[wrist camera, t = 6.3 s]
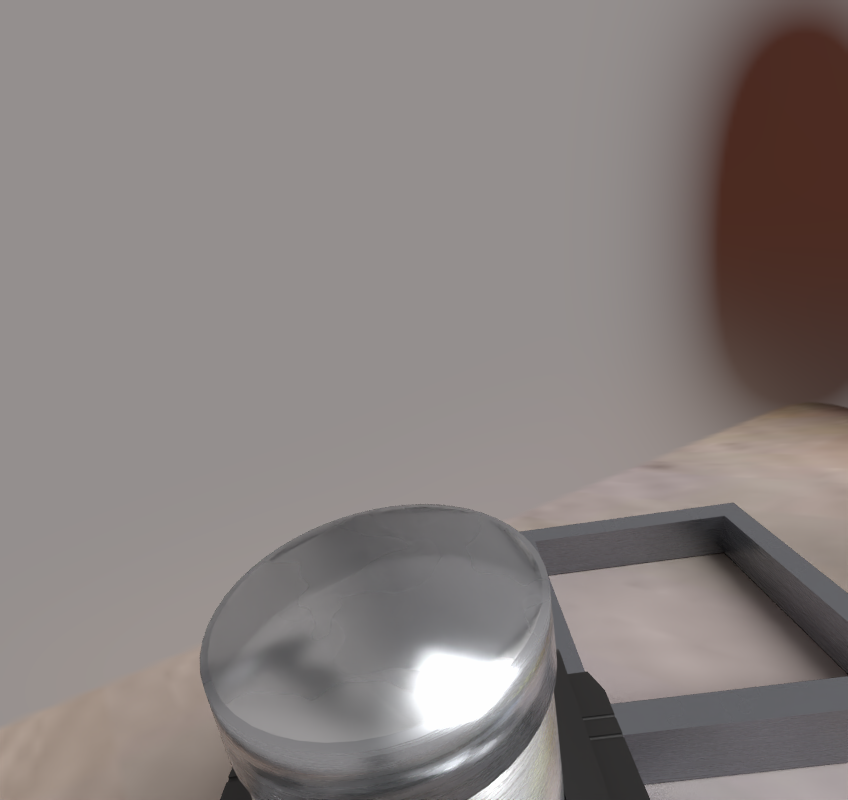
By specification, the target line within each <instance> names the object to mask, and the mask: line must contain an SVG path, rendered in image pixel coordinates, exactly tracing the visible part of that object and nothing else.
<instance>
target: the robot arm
mask: <svg viewBox="0 0 848 800" xmlns="http://www.w3.org/2000/svg"><path fill="white" fill-rule="evenodd" d="M556 656H557V672H556V682H555V687H554V698H555V707H556V717H557V726H558V736H559V745H560V755H561V764H562V774H563V787H564V797H565V800H650V798H649V796H648V793H647V791H646V789H645V786H644V784H643V781H642V779H641V776H640V774H639V772H638V769H637V767H636V764H635V762H634V760H633V757H632V755H631V752H630V750H629V748H628V745H627V743H626V740H625V738H624V737H623V734H622V731H621V728H620V726H619V723H618V721H617V719H616V718H615V715H614V711H613V709H612V707H611V704H610V702H609V699H608V697H607V694H606V692H605V690H604V689H603V688H602V687H601V686H600V685H599V684H598V682H597V681H596V680H595V679H594V678H593V677H592V676H591V675H590V674H589V673H588V672H580V673H571V674H567V671H566V668H565V665H564V662H563V659H562V656H561V653H560V651H559V649H556ZM220 800H252V797H251V794H250V792H249V791H248V790H247V789H246V788H245V786H244V785H243V784H242V783H241V781H240V780H239V778H238V776H237V775H236V773H235V771H234V769H233V767H232V770H231V772H230V775H229V781H228V782H227V783H226V786H225V788H224V791H223V793H222V796H221V799H220Z"/></svg>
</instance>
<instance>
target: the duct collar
mask: <svg viewBox="0 0 848 800" xmlns="http://www.w3.org/2000/svg"><path fill="white" fill-rule="evenodd" d="M520 533H521V534H522V535H523V536H524V537H525V538H526V539H527V540H528V541H530V542H531V544H532V545H533V546H534V548H535V549H536V550H537V552H538V553H539V555H540V557H541V559H542V561H543V563H544V565H545V567H546V571H547V574H548V575H554V574H562V573H570V572H577V571H585V570H592V569H600V568H608V567H615V566H623V565H630V564H638V563H646V562H653V561H661V560H668V559H676V558H684V557H691V556H699V555H707V554H714V553H722V552H724V553H725V554H726V555H727V556H728V557H729V558H730V559H731V560H732V561H734V562H735V563H736V564H737V565H738V566H739V567H740V568H741V569H742V570H743V571H744V572H745V573H746V574H747V575H748V576H749V577H750V578H751V579H752V580H753V581H754V582H755V583H756V584H757V585H758V586H759V587H760V588H761V589H762V590H763V591H764V592H765V593H766V594H767V595H768V596H769V597H770V598H771V599H772V600H773V601H774V602H775V603H776V604H777V605H778V606H779V607H780V608H781V609H782V610H783V611H784V612H785V613H786V614H787V615H788V616H789V617H791V618H792V619H793V620H794V621H795V622H796V623H797V624H798V625H799V626H800V627H801V628H802V629H803V630H804V631H805V632H806V633H807V634H808V635H809V636H810V637H811V638H812V639H813V640H814V641H815V642H816V643H817V644H818V645H819V646H820V647H821V648H822V649H823V650H824V651H825V652H826V653H827V654H828V655H829V656H830V657H831V658H832V659H833V660H834V661H835V662H836V663H837V664H838V665H839V666H840V667H841V668H842V669H843V670H844V671H845V672H847V673H848V593H847V592H845V591H844V590H843V589H842V588H840V587H839V586H838V585H837V584H835V583H834V582H833V581H832V580H830V579H829V578H828V577H826V576H825V575H824V574H823V573H821V572H820V571H819V570H818V569H816V568H815V567H814V566H813V565H811V564H810V563H809V562H808V561H806V560H805V559H804V558H802V557H801V556H800V555H799V554H797V553H796V552H795V551H794V550H792V549H791V548H790V547H789V546H787V545H786V544H785V543H784V542H782V541H781V540H780V539H778V538H777V537H776V536H775V535H773V534H772V533H771V532H770V531H768V530H767V529H766V528H765V527H763V526H762V525H761V524H760V523H758V522H757V521H756V520H754V519H753V518H752V517H751V516H749V515H748V514H747V513H746V512H744V511H743V510H742V509H741V508H739V507H738V506H737V505H736V504H734V503H727V504H720V505H713V506H705V507H698V508H691V509H683V510H676V511H669V512H661V513H654V514H647V515H639V516H632V517H625V518H617V519H610V520H603V521H595V522H588V523H580V524H573V525H566V526H558V527H551V528H544V529H536V530H529V531H522V532H520ZM548 578H549V577H548ZM549 584H550V594H551V604H552V614H553V624H554V634H555V644H556V649H559V651H560V653H561V656H562V659H563V662H564V665H565V668H566V671H567V674H571V673H580V672H585V671H584V668H583V665H582V663H581V660H580V658H579V655H578V652H577V650H576V647H575V644H574V642H573V639H572V637H571V634H570V631H569V629H568V626H567V624H566V621H565V618H564V616H563V613H562V611H561V608H560V605H559V603H558V600H557V598H556V595H555V592H554V590H553V587H552V585H551V582H550V579H549ZM611 707H612V709H613V711H614V715H615V718H616V719H617V721H618V723H619V726H620V728H621V731H622V734H623V737H624V738H625V740H626V743H627V745H628V748H629V750H630V752H631V755H632V757H633V760H634V762H635V764H636V767H637V769H638V772H639V774H640V776H641V779H642V781H643V784H644V785H645V784H654V783H663V782H672V781H682V780H691V779H700V778H709V777H718V776H727V775H737V774H746V773H755V772H764V771H773V770H782V769H791V768H801V767H810V766H819V765H828V764H837V763H846V762H848V676H846V677H837V678H829V679H820V680H812V681H803V682H795V683H786V684H778V685H769V686H761V687H752V688H744V689H735V690H727V691H718V692H710V693H701V694H693V695H684V696H676V697H667V698H659V699H650V700H642V701H633V702H625V703H616V704H611Z"/></svg>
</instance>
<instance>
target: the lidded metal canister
mask: <svg viewBox="0 0 848 800" xmlns="http://www.w3.org/2000/svg"><path fill="white" fill-rule="evenodd" d="M556 672H557V656H556V644H555V634H554V624H553V614H552V604H551V594H550V584H549V578H548V574H547V571H546V567H545V565H544V563H543V561H542V559H541V557H540V555H539V553H538V552H537V550H536V549H535V548H534V546H533V545H532V544H531V542H530V541H528V540H527V539H526V538H525V537H524V536H523V535H522V534H521V533H520V532H518V531H517V530H516V529H514V528H513V527H511V526H510V525H508V524H506V523H504V522H503V521H501V520H499V519H497V518H494V517H492V516H489V515H487V514H484V513H481V512H477V511H474V510H470V509H466V508H460V507H455V506H446V505H432V504H430V505H429V504H418V505H417V504H416V505H402V506H391V507H385V508H380V509H374V510H369V511H365V512H361V513H357V514H353V515H350V516H347V517H343V518H340V519H337V520H335V521H332V522H330V523H326V524H324V525H322V526H319V527H317V528H315V529H312V530H311V531H308V532H306V533H304V534H302V535H300V536H298V537H297V538H295V539H293V540H291V541H289V542H288V543H286V544H284V545H283V546H281V547H279V548H278V549H276V550H275V551H274V552H272V553H271V554H269V555H268V556H266V557H265V558H264V559H262V560H261V561H260V562H259V563H258V564H256V565H255V566H254V567H252V568H251V569H250V570H249V571H248V572H247V573H246V574H245V575H244V576H243V577H242V578H241V579H240V580H239V581H238V582H237V583H236V584H235V585H234V586H233V587H232V589H231V590H230V591H229V592H228V593H227V594H226V596H225V597H224V599H223V600H222V602H221V603H220V605H219V606H218V607H217V609H216V610H215V613H214V614H213V616H212V618H211V620H210V622H209V624H208V626H207V629H206V632H205V636H204V638H203V641H202V647H201V653H200V674H201V678H202V682H203V686H204V689H205V693H206V695H207V698H208V701H209V704H210V707H211V710H212V712H213V715H214V718H215V721H216V724H217V727H218V729H219V732H220V735H221V738H222V741H223V744H224V746H225V749H226V752H227V755H228V758H229V760H230V763H231V765H232V767H233V769H234V771H235V773H236V775H237V776H238V778H239V780H240V781H241V783H242V784H243V785H244V786H245V788H246V789H247V790H248V791H249V792H250V794H251V797H252V800H565V797H564V787H563V774H562V764H561V755H560V745H559V736H558V726H557V717H556V707H555V698H554V687H555V682H556Z"/></svg>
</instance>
